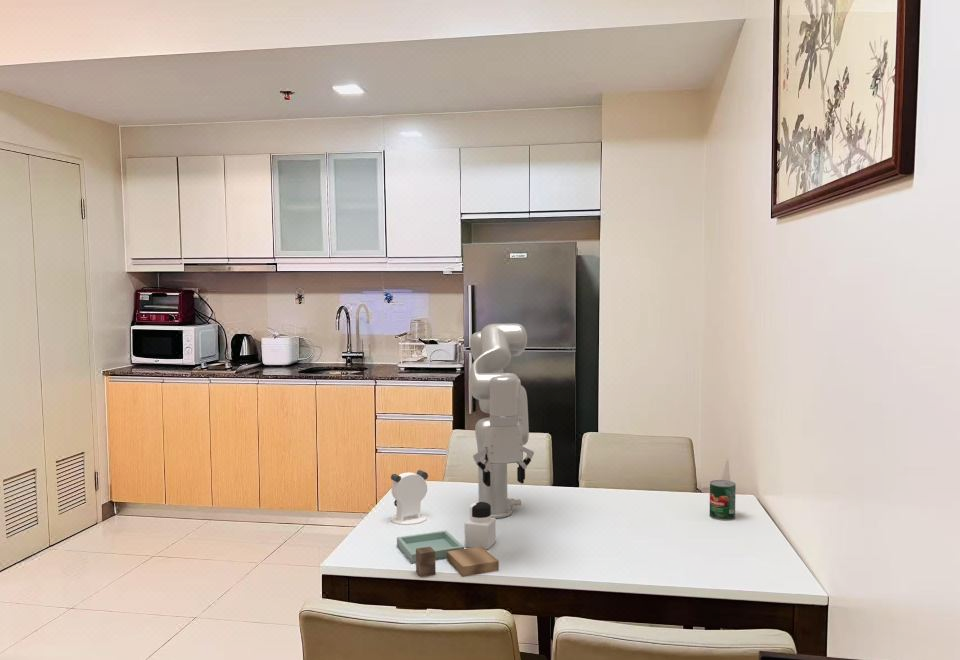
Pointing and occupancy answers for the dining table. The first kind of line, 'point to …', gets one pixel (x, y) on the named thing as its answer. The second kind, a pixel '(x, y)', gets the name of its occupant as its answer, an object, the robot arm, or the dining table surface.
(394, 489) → the panda figurine
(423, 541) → the tray
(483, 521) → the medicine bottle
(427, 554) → the dark brown wooden block
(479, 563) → the tan wooden block
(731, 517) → the canned tomato
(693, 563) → the dining table surface
